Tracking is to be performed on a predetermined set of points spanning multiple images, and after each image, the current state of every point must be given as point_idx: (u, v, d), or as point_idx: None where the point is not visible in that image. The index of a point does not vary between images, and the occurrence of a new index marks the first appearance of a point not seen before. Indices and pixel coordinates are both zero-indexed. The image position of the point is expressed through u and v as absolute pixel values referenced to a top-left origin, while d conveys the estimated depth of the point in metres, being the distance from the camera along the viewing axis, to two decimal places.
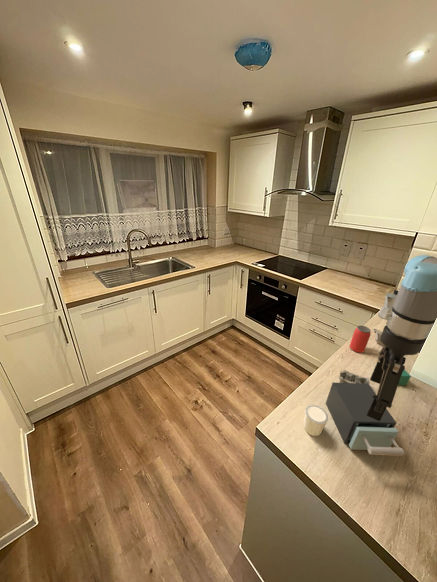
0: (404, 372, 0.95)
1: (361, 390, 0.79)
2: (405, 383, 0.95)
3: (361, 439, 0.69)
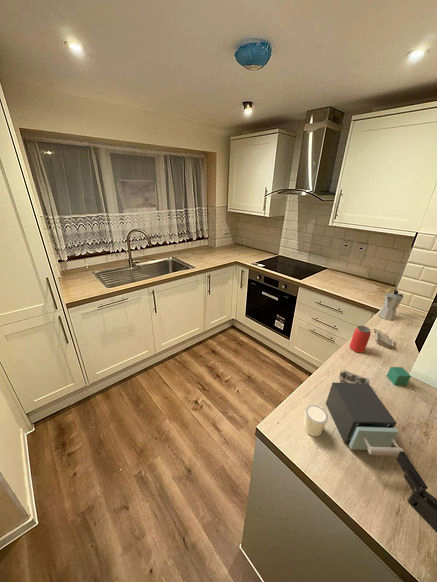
0: (404, 372, 0.95)
1: (361, 390, 0.79)
2: (405, 383, 0.95)
3: (361, 439, 0.69)
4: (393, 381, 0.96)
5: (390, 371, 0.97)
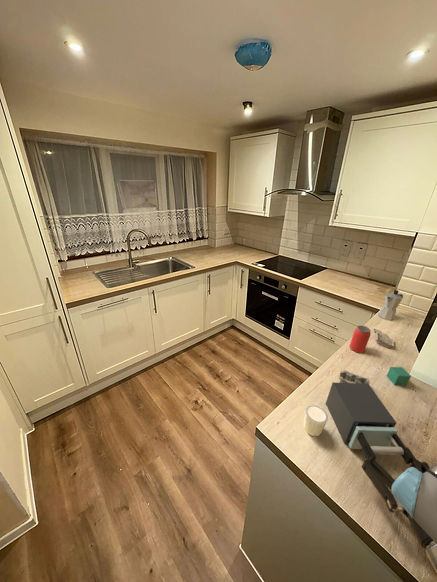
0: (404, 372, 0.95)
1: (361, 390, 0.79)
2: (405, 383, 0.95)
3: None
4: (393, 381, 0.96)
5: (390, 371, 0.97)
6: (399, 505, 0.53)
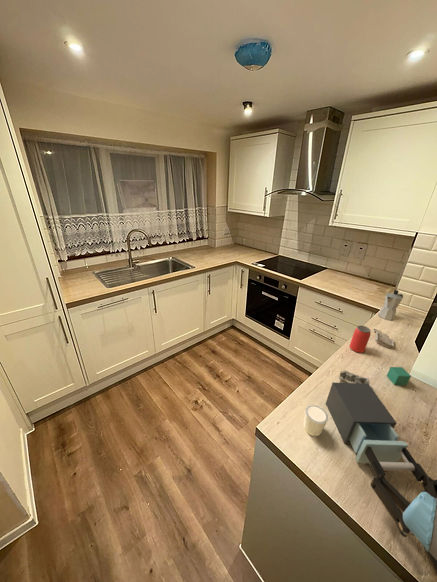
0: (404, 372, 0.95)
1: (361, 390, 0.79)
2: (405, 383, 0.95)
3: None
4: (393, 381, 0.96)
5: (390, 371, 0.97)
6: None
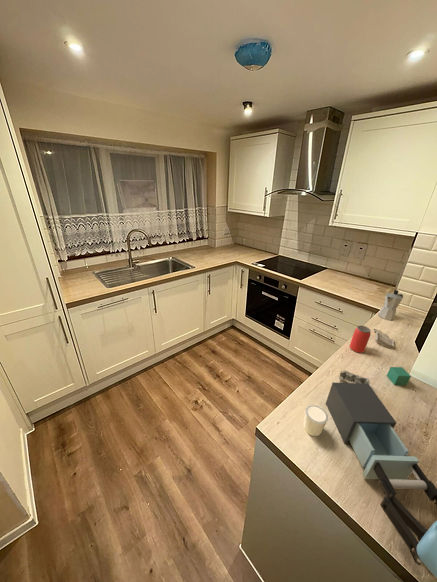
0: (404, 372, 0.95)
1: (361, 390, 0.79)
2: (405, 383, 0.95)
3: None
4: (393, 381, 0.96)
5: (390, 371, 0.97)
6: None
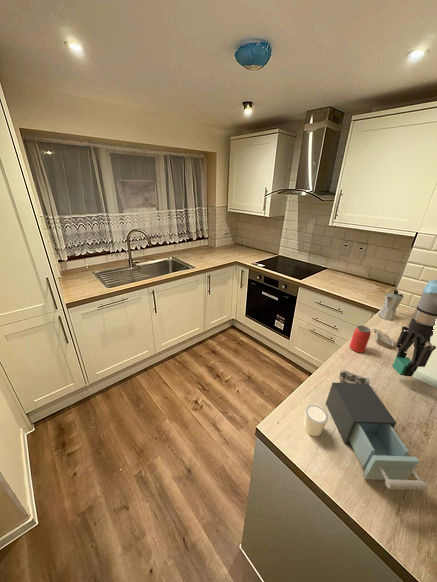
0: None
1: (361, 390, 0.79)
2: None
3: (377, 469, 0.62)
4: (398, 372, 0.93)
5: (396, 361, 0.95)
6: None
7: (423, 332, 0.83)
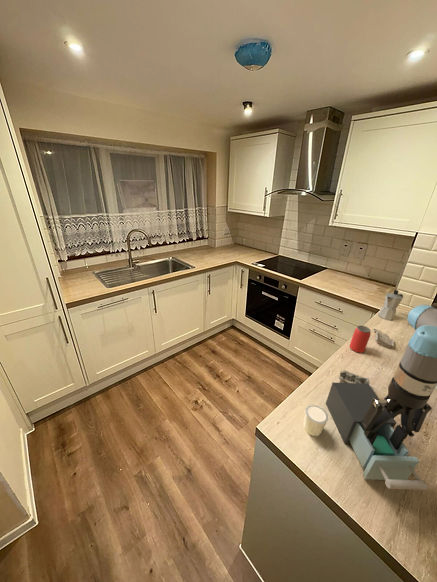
0: (380, 448, 0.65)
1: (361, 390, 0.79)
2: None
3: (377, 469, 0.62)
4: None
5: None
6: None
7: (389, 386, 0.59)
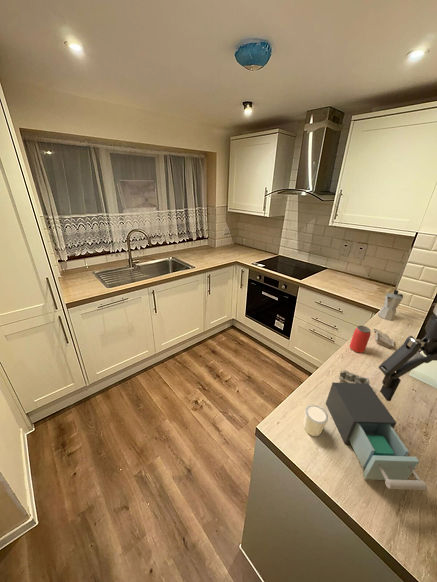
0: (380, 448, 0.65)
1: (361, 390, 0.79)
2: None
3: (377, 469, 0.62)
4: None
5: None
6: None
7: (426, 325, 0.49)
